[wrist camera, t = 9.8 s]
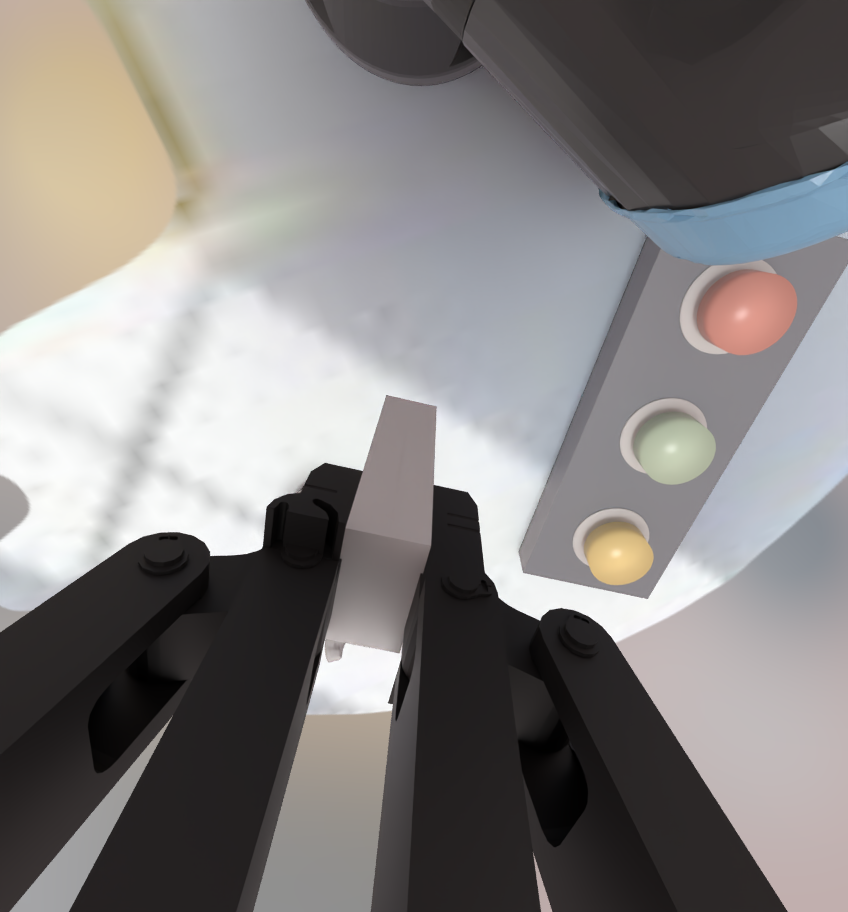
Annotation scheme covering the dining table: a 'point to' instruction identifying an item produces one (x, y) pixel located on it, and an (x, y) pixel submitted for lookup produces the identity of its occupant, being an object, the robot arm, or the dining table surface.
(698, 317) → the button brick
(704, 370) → the console
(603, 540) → the button ochre
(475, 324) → the dining table surface
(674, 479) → the button sage
